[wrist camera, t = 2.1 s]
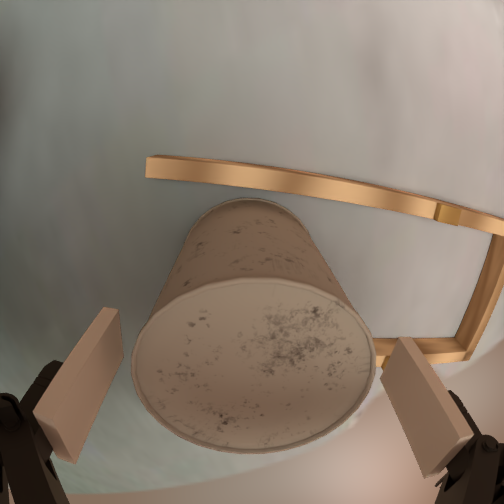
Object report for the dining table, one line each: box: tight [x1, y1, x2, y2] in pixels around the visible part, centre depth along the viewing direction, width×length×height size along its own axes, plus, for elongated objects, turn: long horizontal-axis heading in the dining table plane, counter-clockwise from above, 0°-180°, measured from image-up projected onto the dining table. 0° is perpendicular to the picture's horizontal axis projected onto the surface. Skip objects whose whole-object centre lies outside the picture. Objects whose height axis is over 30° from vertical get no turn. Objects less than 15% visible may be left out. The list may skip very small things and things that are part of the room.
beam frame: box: [145, 155, 504, 371], centre depth 22 cm, size 30×14×3 cm, turn 82°
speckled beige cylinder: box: [131, 198, 376, 454], centre depth 17 cm, size 10×10×12 cm
